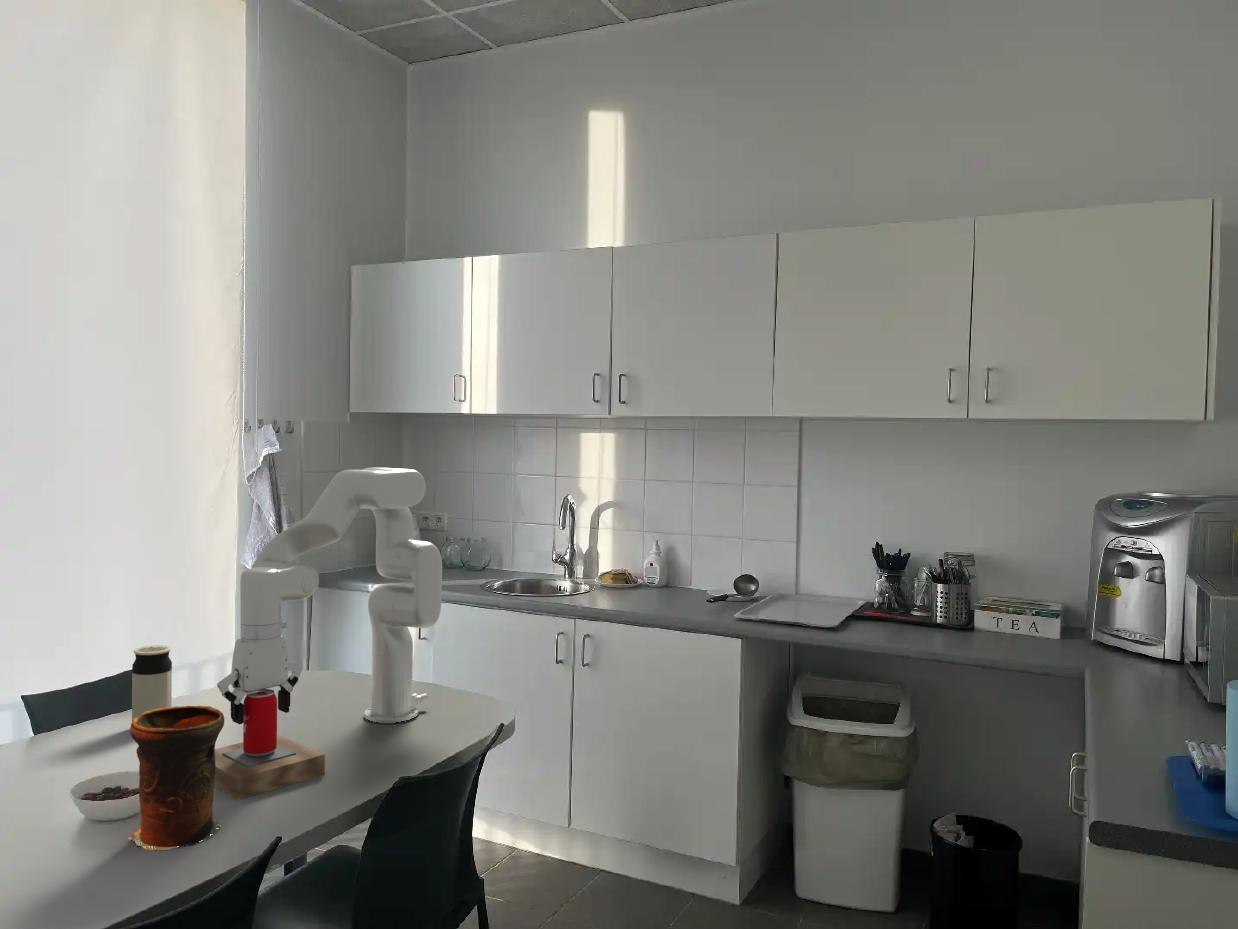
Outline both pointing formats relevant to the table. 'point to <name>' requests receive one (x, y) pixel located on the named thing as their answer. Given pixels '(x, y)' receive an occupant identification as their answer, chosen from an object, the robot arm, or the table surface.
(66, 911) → the table surface
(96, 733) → the table surface
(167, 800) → the vessel
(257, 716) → the beverage can
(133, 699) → the travel mug
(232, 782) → the walnut plinth
